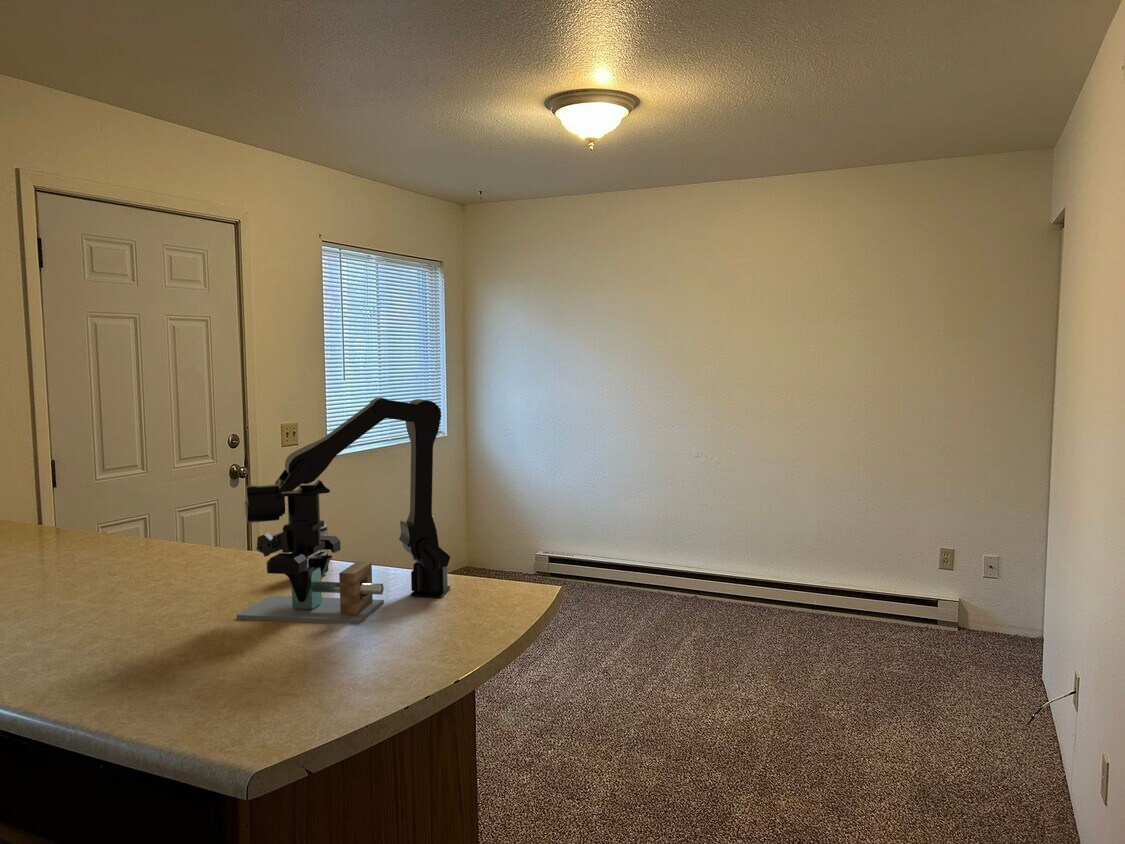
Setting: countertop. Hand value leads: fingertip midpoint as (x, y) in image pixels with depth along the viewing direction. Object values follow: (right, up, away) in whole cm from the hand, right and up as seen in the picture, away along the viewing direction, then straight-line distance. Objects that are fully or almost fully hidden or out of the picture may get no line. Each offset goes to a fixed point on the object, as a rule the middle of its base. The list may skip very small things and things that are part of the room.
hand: (307, 598), depth 150 cm
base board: (+1, -3, 0) cm, 3 cm away
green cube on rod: (+6, -1, -1) cm, 7 cm away
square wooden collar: (+10, -3, -1) cm, 10 cm away
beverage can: (-6, -1, +25) cm, 26 cm away
